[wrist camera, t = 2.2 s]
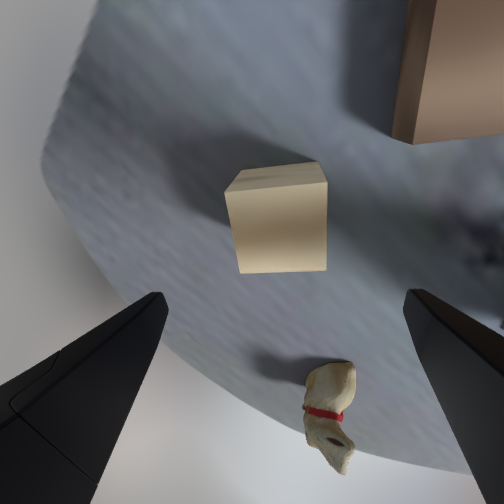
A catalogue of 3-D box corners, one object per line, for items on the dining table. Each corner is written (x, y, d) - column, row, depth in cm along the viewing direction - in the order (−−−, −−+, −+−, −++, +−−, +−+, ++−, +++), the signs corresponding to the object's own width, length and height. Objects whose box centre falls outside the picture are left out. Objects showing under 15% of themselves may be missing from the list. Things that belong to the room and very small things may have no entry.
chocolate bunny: (290, 370, 32) (289, 465, 24) (350, 357, 29) (374, 460, 21) (307, 393, 34) (312, 488, 26) (364, 384, 31) (391, 487, 23)
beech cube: (318, 231, 22) (326, 270, 17) (251, 235, 23) (240, 273, 18) (317, 161, 19) (327, 182, 14) (241, 169, 20) (224, 192, 15)
